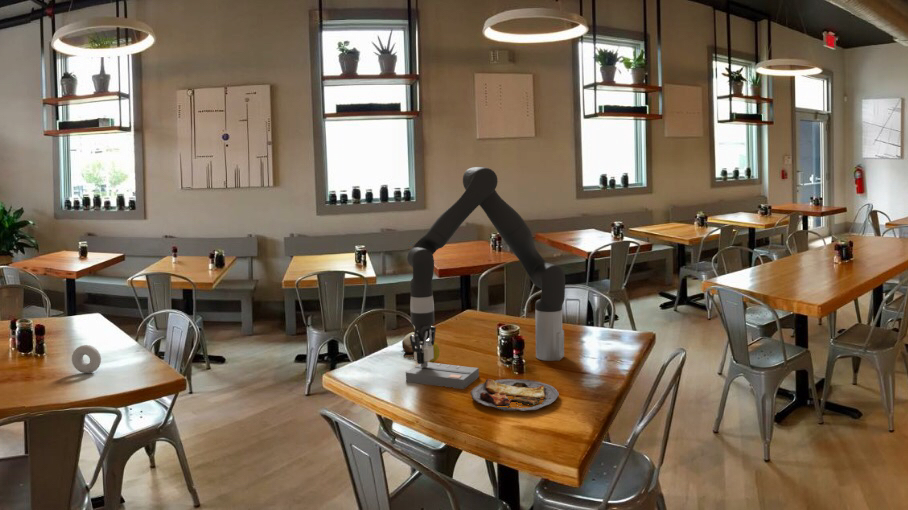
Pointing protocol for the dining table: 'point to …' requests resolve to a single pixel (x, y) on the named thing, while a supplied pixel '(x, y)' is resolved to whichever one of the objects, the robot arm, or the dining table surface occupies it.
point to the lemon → (435, 352)
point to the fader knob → (426, 355)
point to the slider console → (443, 375)
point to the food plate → (514, 393)
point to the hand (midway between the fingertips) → (424, 361)
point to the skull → (408, 346)
